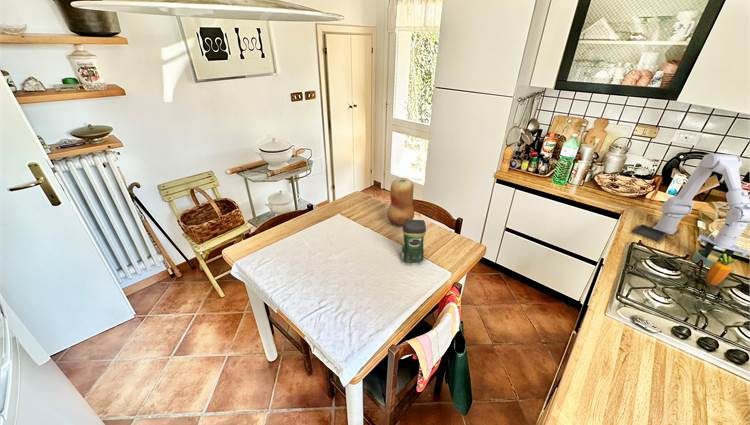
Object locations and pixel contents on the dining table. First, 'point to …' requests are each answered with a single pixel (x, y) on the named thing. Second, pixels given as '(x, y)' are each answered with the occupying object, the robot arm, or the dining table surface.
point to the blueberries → (643, 320)
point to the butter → (714, 256)
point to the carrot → (719, 270)
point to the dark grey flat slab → (649, 232)
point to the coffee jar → (413, 241)
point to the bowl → (703, 257)
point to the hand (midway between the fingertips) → (710, 261)
